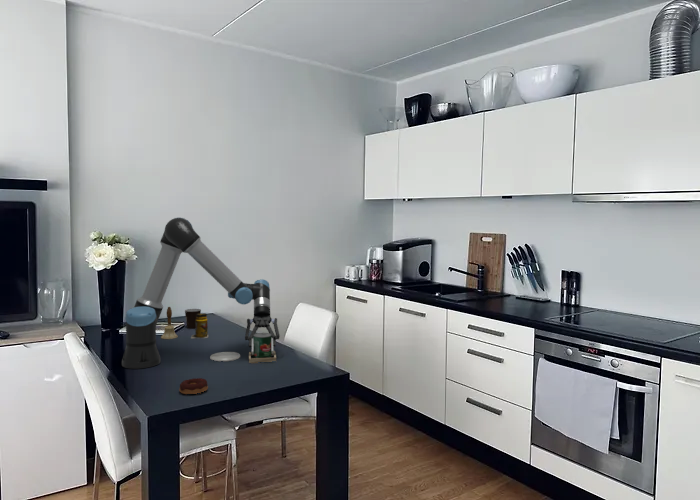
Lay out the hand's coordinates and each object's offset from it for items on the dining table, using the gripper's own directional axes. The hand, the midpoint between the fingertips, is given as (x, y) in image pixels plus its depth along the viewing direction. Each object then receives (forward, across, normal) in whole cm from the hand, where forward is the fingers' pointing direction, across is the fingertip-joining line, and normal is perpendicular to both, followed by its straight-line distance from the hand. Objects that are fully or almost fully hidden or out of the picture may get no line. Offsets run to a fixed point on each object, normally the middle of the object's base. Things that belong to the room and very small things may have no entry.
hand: (262, 352), depth 218 cm
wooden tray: (0, 0, -5) cm, 5 cm away
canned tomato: (+1, 0, -5) cm, 5 cm away
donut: (+27, +25, +21) cm, 42 cm away
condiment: (-32, +31, -38) cm, 59 cm away
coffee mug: (-49, +37, -55) cm, 82 cm away
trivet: (-3, +16, -9) cm, 19 cm away
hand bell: (-33, +46, -39) cm, 69 cm away
